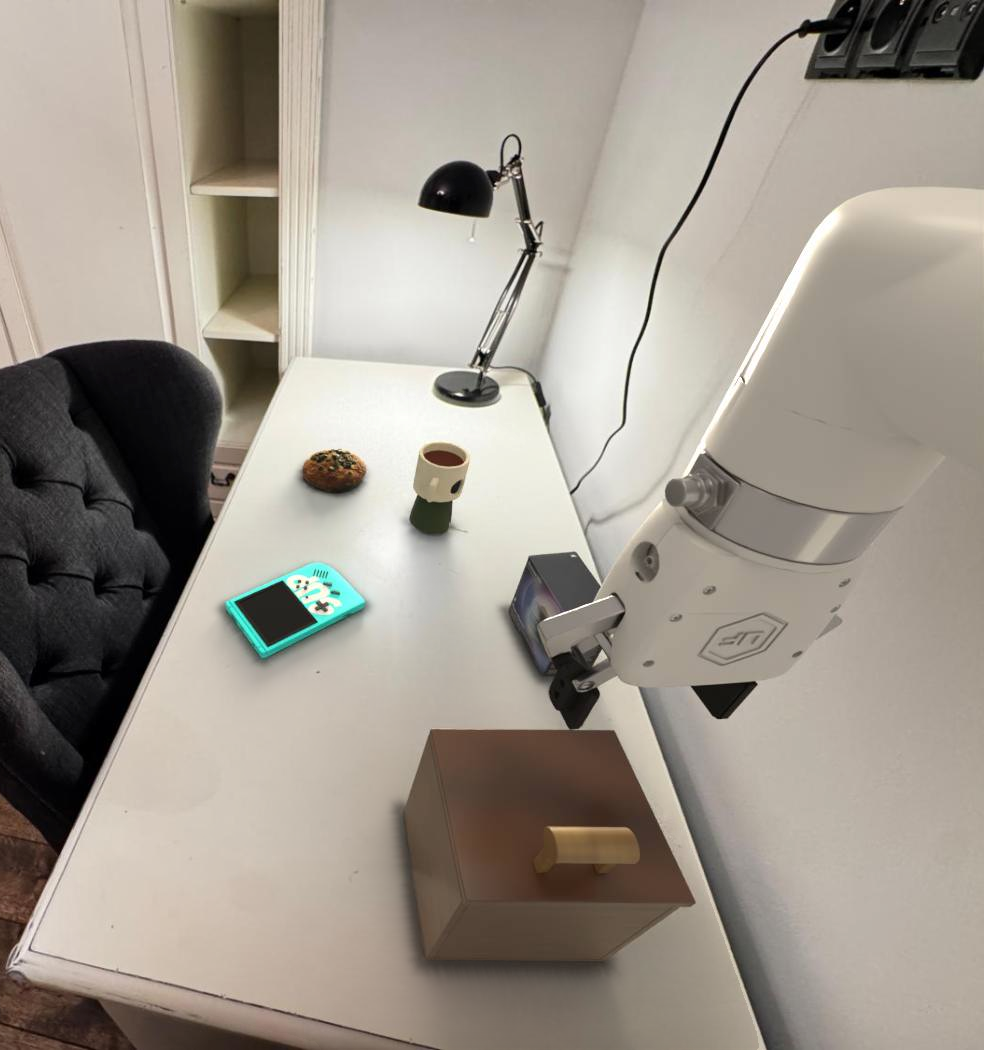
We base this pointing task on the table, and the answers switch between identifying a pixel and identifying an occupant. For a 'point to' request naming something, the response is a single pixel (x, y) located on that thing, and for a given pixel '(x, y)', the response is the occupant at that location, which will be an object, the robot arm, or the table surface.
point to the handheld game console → (293, 607)
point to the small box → (551, 600)
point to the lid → (552, 821)
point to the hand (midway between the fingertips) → (634, 704)
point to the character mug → (438, 485)
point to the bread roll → (334, 470)
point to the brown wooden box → (499, 928)
